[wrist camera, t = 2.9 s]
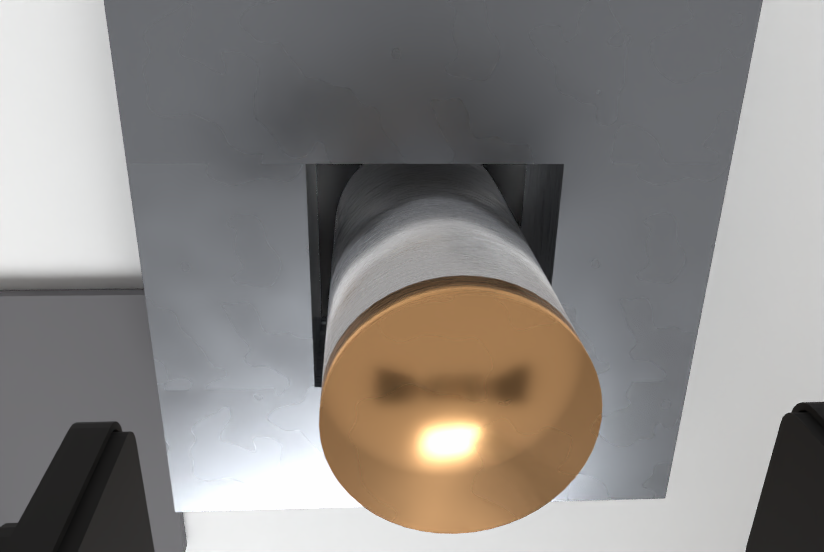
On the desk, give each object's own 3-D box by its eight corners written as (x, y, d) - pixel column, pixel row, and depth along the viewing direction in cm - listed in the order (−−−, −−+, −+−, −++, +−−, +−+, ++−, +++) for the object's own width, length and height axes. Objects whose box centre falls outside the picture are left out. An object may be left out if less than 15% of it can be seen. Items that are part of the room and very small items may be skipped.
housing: (692, -26, 20) (765, -17, 16) (621, 418, 26) (665, 498, 22) (149, -36, 19) (100, -28, 15) (202, 427, 25) (175, 511, 21)
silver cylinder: (510, 141, 22) (619, 294, 13) (499, 300, 24) (585, 529, 15) (333, 141, 21) (313, 297, 12) (337, 301, 23) (323, 537, 14)
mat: (152, 289, 23) (148, 295, 22) (187, 545, 27) (184, 553, 26) (-199, 292, 22) (-208, 298, 22) (-109, 554, 26) (-116, 563, 26)
